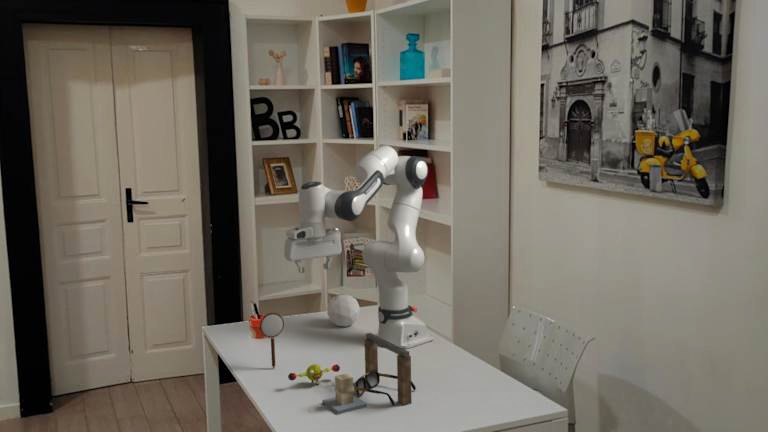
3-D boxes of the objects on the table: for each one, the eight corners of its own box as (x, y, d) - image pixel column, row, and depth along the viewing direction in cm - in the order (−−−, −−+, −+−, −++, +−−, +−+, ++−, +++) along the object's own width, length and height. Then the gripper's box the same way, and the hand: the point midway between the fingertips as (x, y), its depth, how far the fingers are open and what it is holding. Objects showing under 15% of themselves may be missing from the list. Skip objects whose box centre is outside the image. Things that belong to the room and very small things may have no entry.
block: (347, 398, 232) (346, 373, 231) (353, 402, 229) (352, 377, 228) (335, 401, 230) (334, 376, 229) (341, 405, 227) (341, 380, 226)
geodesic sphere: (342, 320, 299) (353, 289, 304) (314, 315, 306) (326, 285, 311) (359, 334, 310) (369, 303, 315) (332, 329, 317) (343, 299, 322)
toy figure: (292, 393, 240) (291, 372, 239) (286, 387, 245) (285, 367, 244) (343, 382, 248) (343, 362, 247) (336, 377, 253) (336, 357, 252)
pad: (350, 396, 237) (350, 393, 236) (367, 406, 228) (367, 403, 228) (322, 403, 231) (322, 400, 231) (338, 414, 223) (337, 411, 223)
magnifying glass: (262, 371, 260) (260, 315, 257) (261, 370, 261) (258, 314, 258) (286, 367, 264) (284, 311, 261) (284, 365, 265) (282, 310, 262)
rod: (370, 337, 247) (370, 332, 246) (409, 356, 227) (409, 351, 227) (366, 338, 246) (365, 333, 246) (404, 357, 226) (404, 352, 226)
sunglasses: (394, 406, 228) (393, 390, 227) (351, 397, 235) (351, 381, 235) (415, 390, 240) (415, 375, 239) (375, 382, 247) (374, 367, 247)
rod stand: (373, 381, 249) (372, 337, 247) (411, 403, 230) (410, 356, 228) (365, 382, 247) (364, 339, 245) (403, 405, 229) (402, 358, 226)
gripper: (335, 226, 261) (336, 265, 263) (281, 232, 250) (283, 273, 252) (344, 228, 256) (345, 268, 258) (289, 235, 245) (291, 276, 247)
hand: (314, 270), depth 255 cm, fingers open, 8 cm apart
